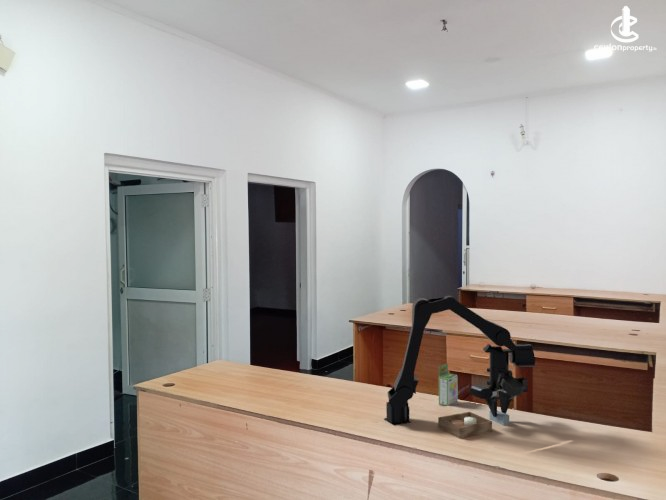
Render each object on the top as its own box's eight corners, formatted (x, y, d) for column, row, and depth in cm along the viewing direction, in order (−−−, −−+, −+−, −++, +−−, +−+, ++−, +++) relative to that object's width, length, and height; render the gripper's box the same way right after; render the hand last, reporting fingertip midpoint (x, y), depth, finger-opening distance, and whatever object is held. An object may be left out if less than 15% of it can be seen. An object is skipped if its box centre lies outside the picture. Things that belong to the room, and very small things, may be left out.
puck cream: (469, 430, 155) (469, 421, 155) (461, 426, 158) (461, 418, 158) (478, 428, 156) (478, 419, 156) (471, 424, 159) (471, 416, 159)
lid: (496, 435, 154) (495, 421, 154) (472, 424, 164) (472, 411, 164) (527, 428, 160) (527, 414, 160) (502, 418, 169) (502, 405, 169)
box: (459, 440, 148) (459, 427, 148) (438, 428, 157) (438, 417, 157) (491, 433, 154) (491, 421, 153) (469, 422, 163) (469, 411, 163)
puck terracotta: (457, 433, 152) (457, 424, 152) (449, 429, 155) (449, 421, 155) (466, 431, 154) (466, 422, 154) (459, 427, 157) (459, 419, 157)
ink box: (448, 407, 178) (448, 368, 178) (438, 405, 180) (438, 366, 180) (458, 402, 183) (457, 364, 183) (447, 400, 186) (447, 363, 186)
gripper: (494, 375, 150) (494, 429, 151) (541, 368, 158) (541, 419, 158) (468, 367, 160) (469, 417, 161) (514, 361, 168) (514, 408, 169)
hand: (499, 415), depth 162 cm, fingers open, 3 cm apart
